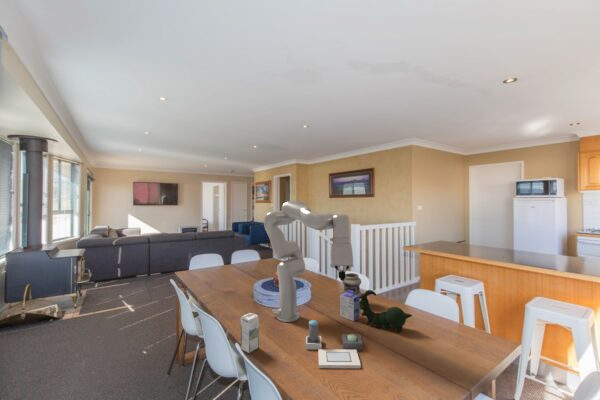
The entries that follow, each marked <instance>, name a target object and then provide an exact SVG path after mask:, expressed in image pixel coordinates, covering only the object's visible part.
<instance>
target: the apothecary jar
mask: <svg viewBox="0 0 600 400" xmlns="http://www.w3.org/2000/svg"><path fill="white" fill-rule="evenodd" d="M341 282H342V284H343V291H342V293H341V294H343V293H348V290H351V291H354V293H353V295H356V296H359V300H361V298H360V296H361V294H363V293H362V292H361V289H360V288H361V287H360V285H361V284H362V279H361V278H360V277H359V275H358V274H357V273H355V272H354V273H353V272H349V273H345V278H344V281H343V280H342V281H341ZM349 293H351V294H352V292H349ZM359 303H360V301H359ZM360 304H361V303H360Z"/></svg>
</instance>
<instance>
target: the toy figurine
mask: <svg viewBox="0 0 600 400" xmlns="http://www.w3.org/2000/svg"><path fill="white" fill-rule="evenodd" d="M370 295H373V296H377V293H376V292H375V291H374V290H371V289H368V290H365V292H364V293H362V294H361V296H360V300H359V302H360V305H361V306H360V310H362V313H361V312H360V315H361V316H362V317H364V316H365V317H366V318H367V320H366V323H367V325H371V323H372V324H373V325H374V328H375V329H379V327H380V326H381V327H382V329H384V330H386V331H387V329H389V327H393V328H395V330H396V332H399V333H400V332H402V331H403V327H404V325H405V324H406V321H407V319H409V318H411V317H412V316H413V315H412V314H411V313H407V312H405V311H404V310H403V309H402V308H400V307H397V306H391V307H389V308H388V309H387V310H386V311H382V312H380V313H379V312H375V311H373V310H372V308H371V305H370V304H369V299H368V296H370Z"/></svg>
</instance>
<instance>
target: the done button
mask: <svg viewBox="0 0 600 400" xmlns="http://www.w3.org/2000/svg"><path fill="white" fill-rule="evenodd" d="M347 341H357V337H356V336H355V335H353V333H350V335H348V336H347Z"/></svg>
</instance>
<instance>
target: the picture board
mask: <svg viewBox="0 0 600 400" xmlns="http://www.w3.org/2000/svg"><path fill="white" fill-rule="evenodd" d="M317 353H318V355H317V356H318V369H362V365H361V361H360V358H359V355H358V350H345V349H344V348H343V349H334V348H333V349H332V348H331V349H329V348H327V349H323V348H322V349H318V352H317Z"/></svg>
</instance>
